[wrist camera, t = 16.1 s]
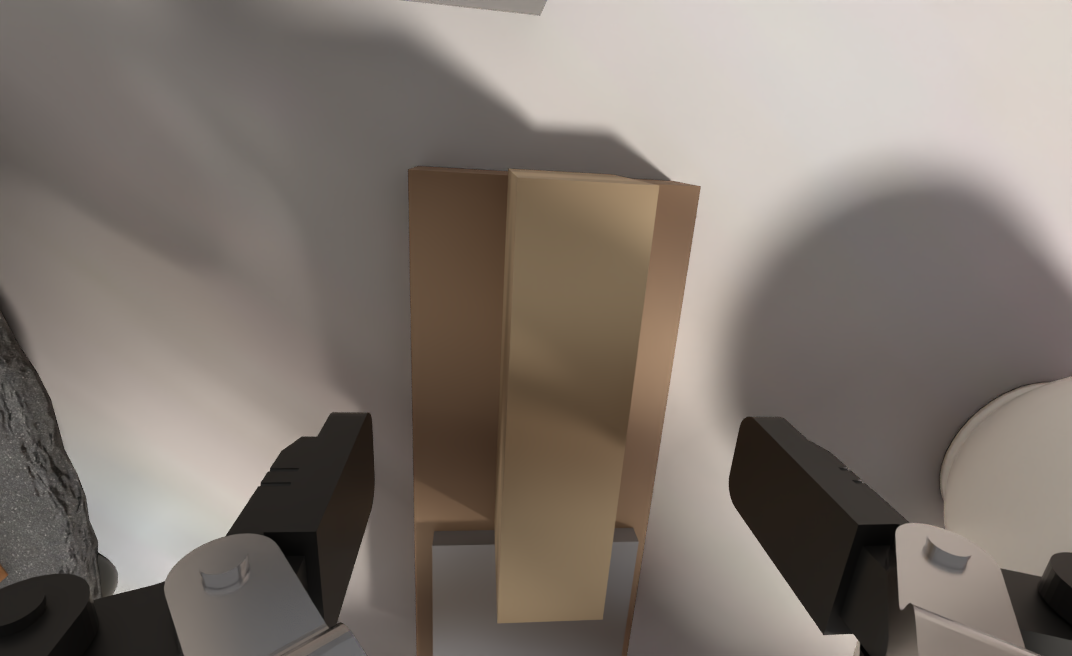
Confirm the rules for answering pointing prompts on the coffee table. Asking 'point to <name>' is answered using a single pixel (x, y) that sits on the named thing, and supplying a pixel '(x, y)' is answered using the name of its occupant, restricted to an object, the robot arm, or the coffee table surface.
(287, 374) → the coffee table surface
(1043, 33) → the coffee table surface
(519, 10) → the slate tile
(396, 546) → the coffee table surface
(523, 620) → the tan bar with plate
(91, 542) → the serving board
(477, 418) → the tan wooden flat block
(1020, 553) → the lidded jar
